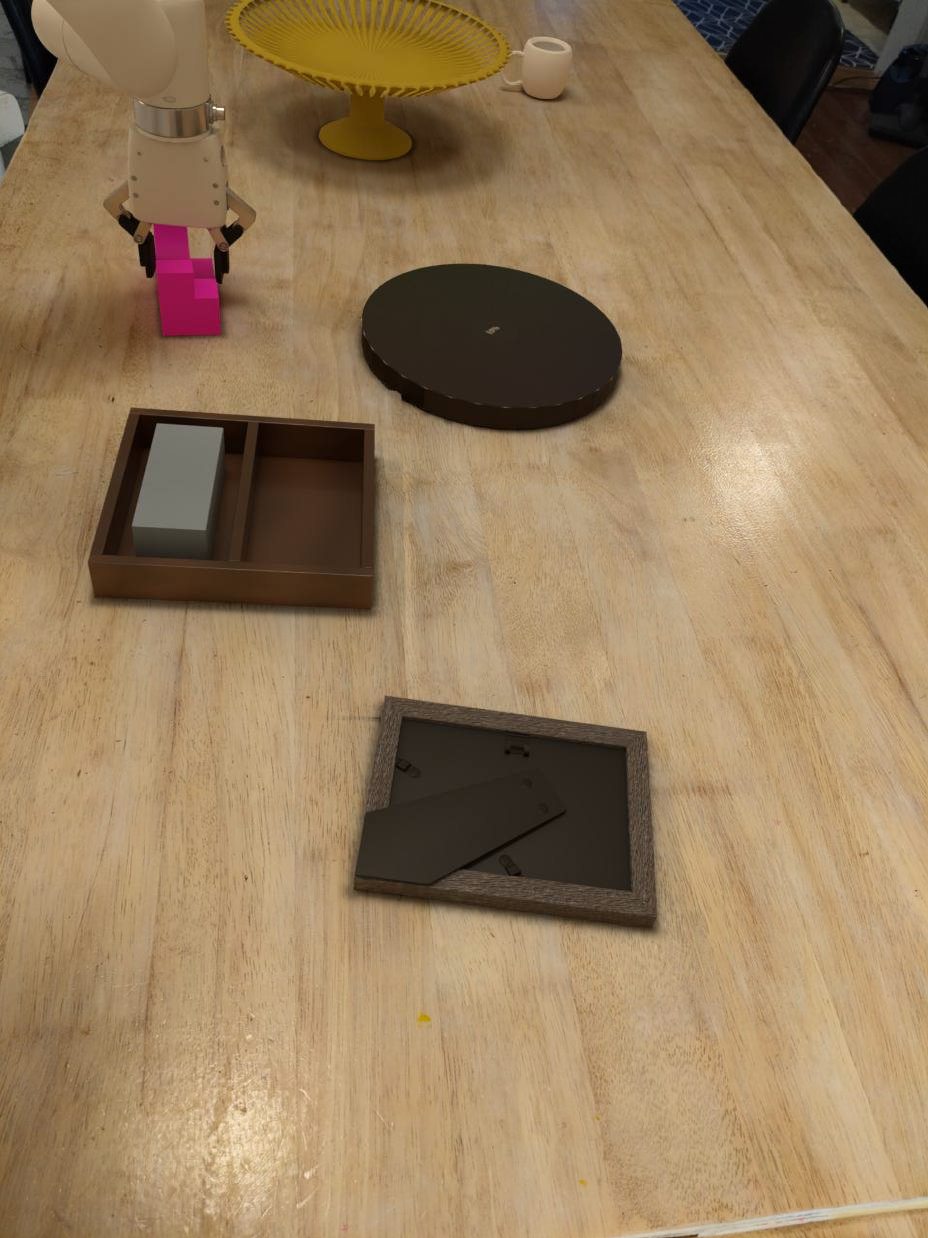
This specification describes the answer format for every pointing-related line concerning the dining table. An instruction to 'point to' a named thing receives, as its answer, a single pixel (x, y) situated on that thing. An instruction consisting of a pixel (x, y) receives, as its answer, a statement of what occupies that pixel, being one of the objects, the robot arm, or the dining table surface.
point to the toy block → (184, 285)
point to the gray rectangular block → (180, 493)
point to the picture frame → (510, 813)
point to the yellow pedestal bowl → (370, 62)
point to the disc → (490, 345)
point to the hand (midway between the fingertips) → (185, 273)
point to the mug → (543, 67)
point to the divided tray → (253, 516)
